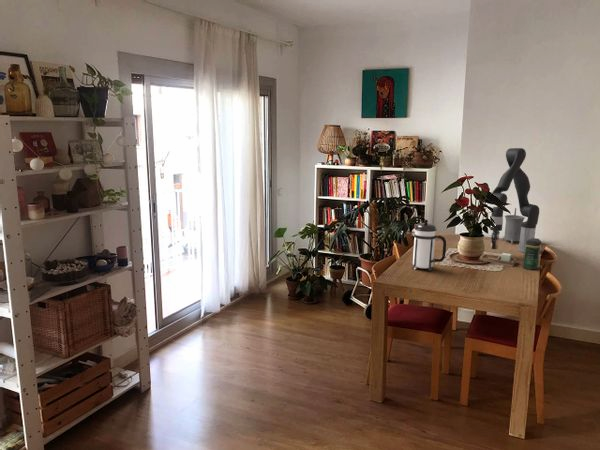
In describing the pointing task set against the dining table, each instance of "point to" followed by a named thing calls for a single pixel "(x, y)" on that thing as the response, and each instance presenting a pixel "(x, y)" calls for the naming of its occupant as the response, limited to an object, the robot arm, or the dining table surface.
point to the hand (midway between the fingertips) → (494, 247)
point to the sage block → (506, 257)
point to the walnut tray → (497, 260)
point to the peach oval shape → (496, 244)
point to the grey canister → (513, 227)
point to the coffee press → (426, 246)
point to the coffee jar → (531, 253)
